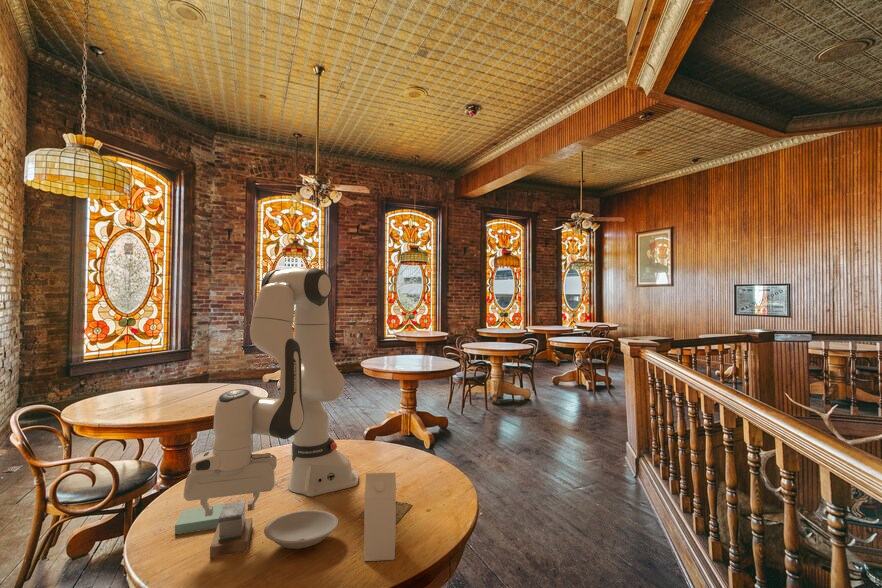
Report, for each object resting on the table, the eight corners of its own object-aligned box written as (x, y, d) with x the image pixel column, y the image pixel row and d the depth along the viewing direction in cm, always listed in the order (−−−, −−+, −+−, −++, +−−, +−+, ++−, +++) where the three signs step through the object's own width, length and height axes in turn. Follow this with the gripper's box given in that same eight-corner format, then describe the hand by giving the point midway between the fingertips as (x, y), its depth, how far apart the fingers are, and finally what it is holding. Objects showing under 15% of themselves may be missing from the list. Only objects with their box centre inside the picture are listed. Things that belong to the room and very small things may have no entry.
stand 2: (252, 527, 109) (252, 517, 109) (247, 551, 98) (247, 541, 98) (218, 532, 106) (218, 523, 106) (209, 558, 96) (209, 547, 96)
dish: (254, 565, 93) (254, 544, 93) (274, 530, 107) (274, 511, 107) (332, 562, 94) (332, 540, 95) (342, 527, 109) (342, 508, 109)
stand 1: (227, 512, 116) (227, 503, 116) (222, 527, 109) (222, 517, 109) (183, 519, 112) (183, 509, 112) (174, 534, 105) (174, 525, 105)
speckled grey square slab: (356, 519, 113) (356, 515, 113) (377, 499, 125) (377, 496, 125) (395, 528, 109) (395, 524, 109) (413, 506, 121) (413, 503, 121)
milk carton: (366, 543, 102) (367, 467, 102) (395, 542, 102) (395, 466, 102) (363, 562, 95) (364, 480, 95) (394, 560, 95) (395, 479, 95)
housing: (245, 521, 107) (245, 500, 107) (241, 538, 99) (241, 515, 99) (224, 525, 105) (224, 503, 105) (218, 542, 98) (218, 519, 98)
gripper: (277, 448, 108) (275, 500, 108) (189, 456, 102) (187, 512, 101) (276, 456, 102) (274, 512, 102) (182, 465, 96) (180, 525, 95)
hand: (230, 512), depth 102 cm, fingers open, 8 cm apart
